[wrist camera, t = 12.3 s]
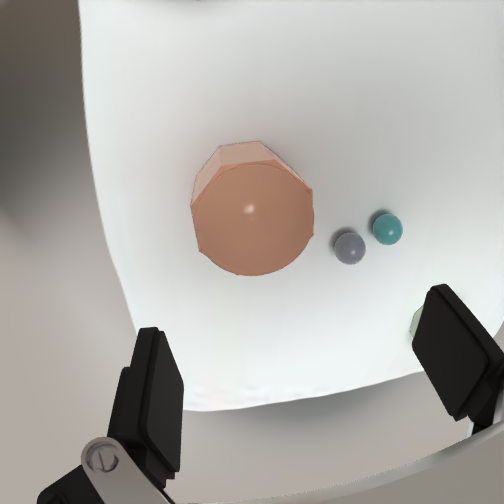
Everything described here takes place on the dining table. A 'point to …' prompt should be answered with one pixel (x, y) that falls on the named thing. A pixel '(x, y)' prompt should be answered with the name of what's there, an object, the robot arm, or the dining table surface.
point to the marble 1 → (350, 248)
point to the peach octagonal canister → (251, 210)
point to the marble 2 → (387, 229)
